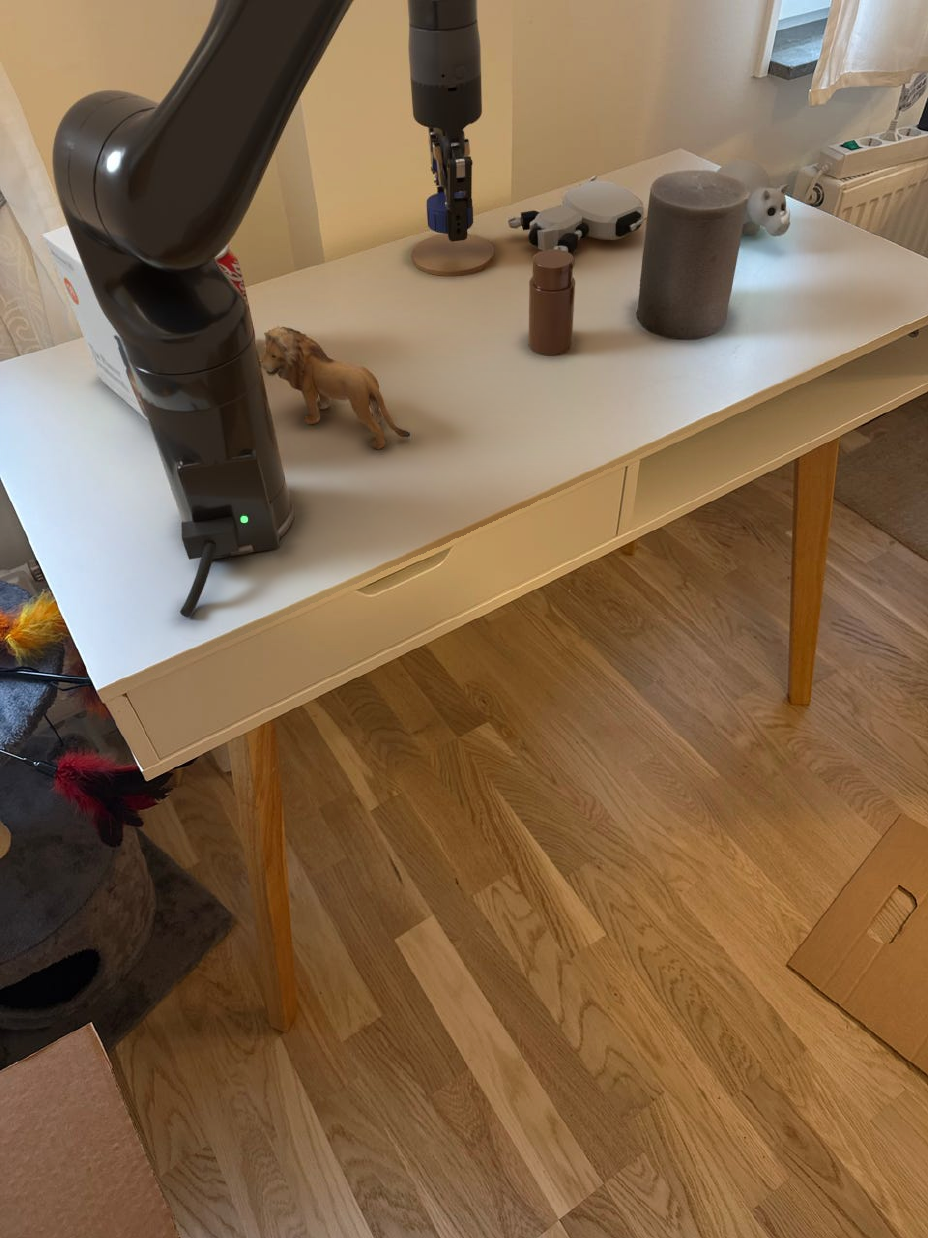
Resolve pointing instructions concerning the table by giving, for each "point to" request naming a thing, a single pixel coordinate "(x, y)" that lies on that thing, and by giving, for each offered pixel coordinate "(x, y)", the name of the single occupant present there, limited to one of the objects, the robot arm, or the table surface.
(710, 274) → the pillar candle
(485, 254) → the coaster
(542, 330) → the jar
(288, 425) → the table surface
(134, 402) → the skincare box
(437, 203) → the lid
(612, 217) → the robot toy
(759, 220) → the toy rhinoceros
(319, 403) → the lion figurine
